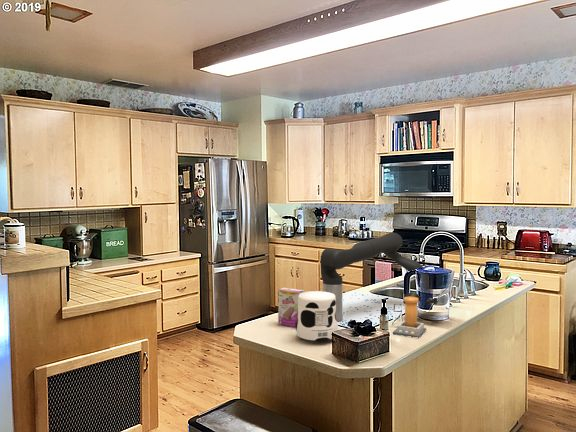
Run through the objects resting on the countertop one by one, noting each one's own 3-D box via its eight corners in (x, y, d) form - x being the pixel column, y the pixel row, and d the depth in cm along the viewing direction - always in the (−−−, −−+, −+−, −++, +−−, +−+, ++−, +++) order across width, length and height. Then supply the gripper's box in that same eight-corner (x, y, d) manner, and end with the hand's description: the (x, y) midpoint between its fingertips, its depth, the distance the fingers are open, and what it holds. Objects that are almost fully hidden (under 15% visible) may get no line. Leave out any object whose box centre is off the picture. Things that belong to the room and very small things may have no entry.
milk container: (312, 329, 206) (312, 288, 205) (346, 337, 195) (346, 294, 194) (287, 339, 193) (287, 296, 191) (321, 348, 182) (321, 302, 180)
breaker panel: (392, 334, 199) (392, 327, 198) (401, 326, 209) (401, 320, 209) (418, 338, 193) (418, 331, 193) (426, 330, 203) (426, 323, 203)
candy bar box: (277, 325, 212) (277, 289, 211) (283, 322, 217) (283, 287, 215) (299, 328, 207) (299, 292, 205) (304, 325, 211) (304, 289, 210)
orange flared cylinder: (401, 329, 201) (402, 298, 200) (405, 326, 206) (406, 295, 205) (415, 332, 198) (416, 300, 197) (419, 328, 203) (420, 297, 202)
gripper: (412, 285, 228) (402, 291, 215) (442, 288, 221) (434, 295, 207) (412, 300, 229) (402, 308, 215) (442, 304, 222) (433, 312, 208)
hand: (417, 301), depth 211 cm, fingers open, 8 cm apart
